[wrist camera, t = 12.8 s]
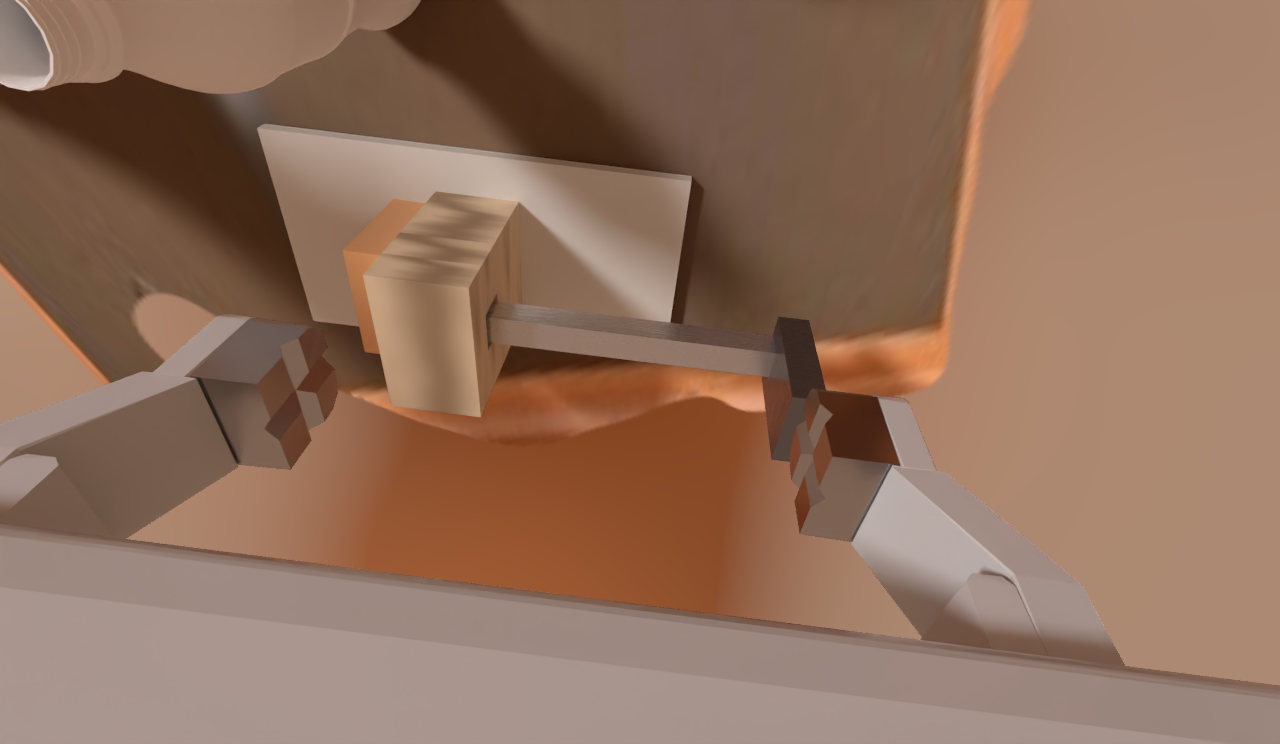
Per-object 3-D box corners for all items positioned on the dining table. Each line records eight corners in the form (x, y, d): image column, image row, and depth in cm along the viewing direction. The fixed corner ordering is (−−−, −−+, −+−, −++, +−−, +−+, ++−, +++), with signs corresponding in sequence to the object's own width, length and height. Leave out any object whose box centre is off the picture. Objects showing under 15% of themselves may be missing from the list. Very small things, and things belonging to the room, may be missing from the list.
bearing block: (449, 308, 50) (391, 406, 41) (435, 191, 44) (362, 274, 34) (522, 317, 50) (480, 417, 41) (518, 201, 44) (468, 288, 34)
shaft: (450, 337, 43) (407, 414, 37) (442, 275, 40) (394, 347, 34) (790, 379, 43) (804, 463, 37) (808, 320, 40) (828, 401, 34)
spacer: (407, 292, 49) (364, 352, 43) (393, 198, 44) (342, 250, 38) (444, 297, 49) (407, 357, 43) (434, 204, 44) (390, 256, 38)
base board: (319, 314, 53) (313, 320, 52) (265, 123, 43) (257, 128, 42) (664, 357, 53) (663, 364, 52) (691, 176, 43) (691, 181, 42)
